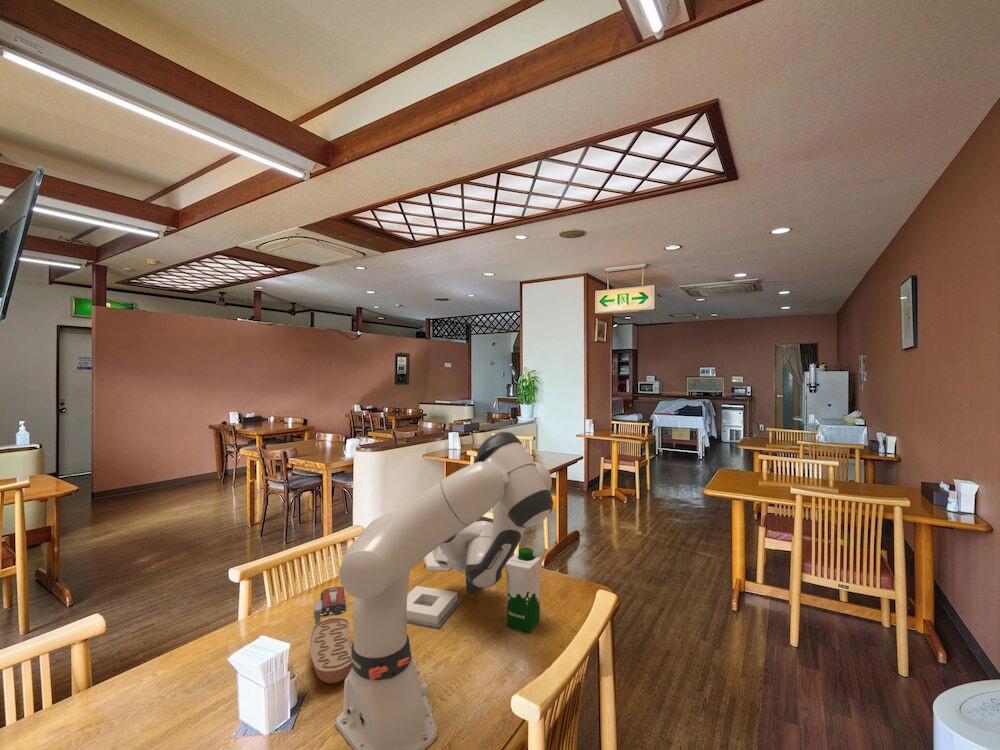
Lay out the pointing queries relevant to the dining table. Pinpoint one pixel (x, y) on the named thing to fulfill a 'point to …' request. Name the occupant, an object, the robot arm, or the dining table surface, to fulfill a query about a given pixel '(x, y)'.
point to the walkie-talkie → (330, 602)
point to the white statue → (433, 561)
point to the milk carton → (523, 590)
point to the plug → (471, 587)
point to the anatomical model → (331, 650)
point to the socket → (430, 606)
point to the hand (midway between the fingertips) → (475, 572)
